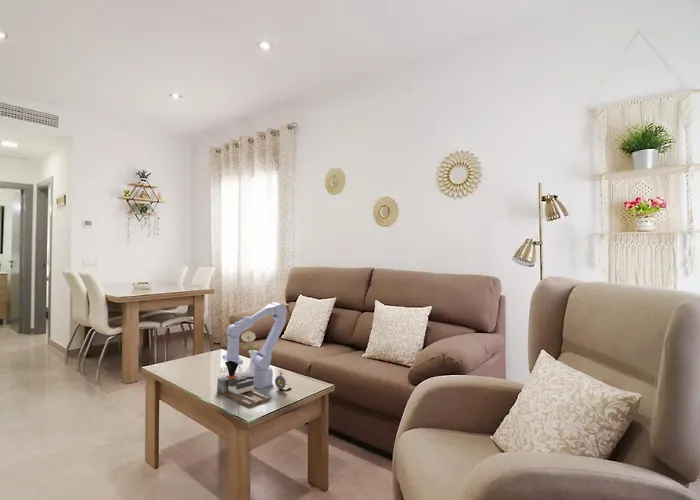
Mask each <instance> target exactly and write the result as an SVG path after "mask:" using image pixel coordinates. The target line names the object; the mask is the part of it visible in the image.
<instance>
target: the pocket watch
mask: <svg viewBox="0 0 700 500" xmlns="http://www.w3.org/2000/svg"><path fill="white" fill-rule="evenodd" d="M278 373H279V375H277V376H276V377H275V379H274V384H275V386H276V388H277V389H278V390H280V389H283V388H284V387H285V385H287V382H286V378H285V377H284V376H283V372H282V371H281V370H279V371H278ZM288 389H289V388H288ZM289 390H290V389H289Z"/></svg>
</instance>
